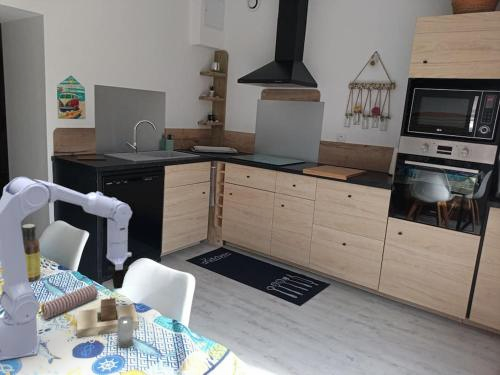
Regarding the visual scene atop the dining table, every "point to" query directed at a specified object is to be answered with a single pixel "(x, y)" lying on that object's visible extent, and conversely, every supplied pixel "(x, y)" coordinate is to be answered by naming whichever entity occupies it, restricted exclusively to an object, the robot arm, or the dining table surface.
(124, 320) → the clear glass
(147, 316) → the dining table surface
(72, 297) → the coil
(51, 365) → the dining table surface
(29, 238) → the sauce bottle
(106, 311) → the square peg
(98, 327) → the socket board
